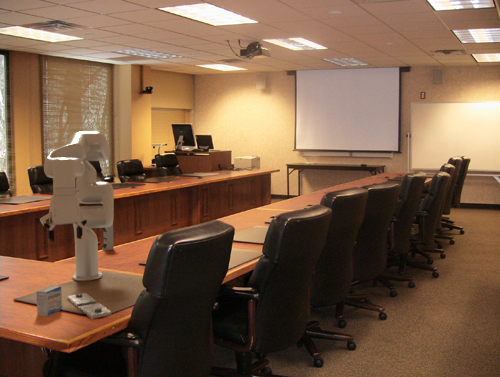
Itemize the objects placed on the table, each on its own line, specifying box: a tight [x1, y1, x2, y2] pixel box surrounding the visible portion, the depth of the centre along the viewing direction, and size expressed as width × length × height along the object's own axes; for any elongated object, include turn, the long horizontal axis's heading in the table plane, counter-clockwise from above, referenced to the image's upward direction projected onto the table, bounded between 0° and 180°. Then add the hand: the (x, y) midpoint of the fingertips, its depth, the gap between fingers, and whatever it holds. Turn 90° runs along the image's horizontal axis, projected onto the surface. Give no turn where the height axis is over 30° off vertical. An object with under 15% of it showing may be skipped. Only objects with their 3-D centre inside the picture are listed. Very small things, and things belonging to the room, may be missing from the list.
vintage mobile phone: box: [101, 223, 115, 252], centre depth 284 cm, size 4×5×25 cm
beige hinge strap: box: [67, 292, 112, 320], centre depth 188 cm, size 27×7×2 cm, turn 36°
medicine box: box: [35, 285, 63, 317], centre depth 182 cm, size 8×4×9 cm, turn 161°
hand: (65, 239), depth 187 cm, fingers open, 9 cm apart
